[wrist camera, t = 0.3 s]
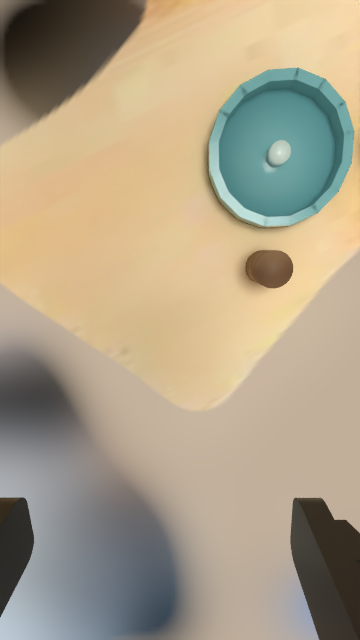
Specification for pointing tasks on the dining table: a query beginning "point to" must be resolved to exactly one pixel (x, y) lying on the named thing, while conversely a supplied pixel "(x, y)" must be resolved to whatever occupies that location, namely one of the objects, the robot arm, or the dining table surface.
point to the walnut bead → (269, 268)
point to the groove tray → (272, 123)
